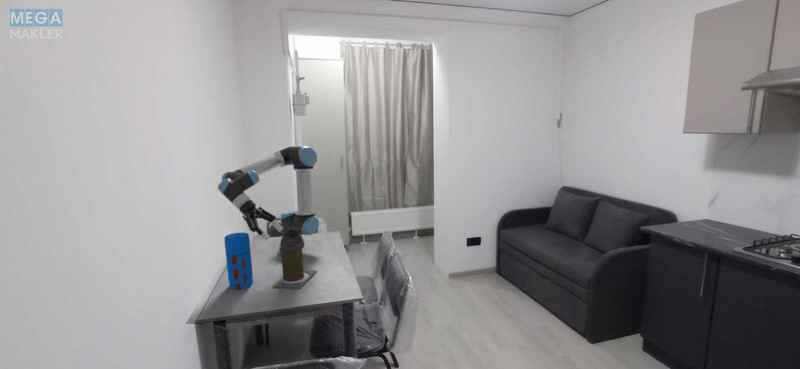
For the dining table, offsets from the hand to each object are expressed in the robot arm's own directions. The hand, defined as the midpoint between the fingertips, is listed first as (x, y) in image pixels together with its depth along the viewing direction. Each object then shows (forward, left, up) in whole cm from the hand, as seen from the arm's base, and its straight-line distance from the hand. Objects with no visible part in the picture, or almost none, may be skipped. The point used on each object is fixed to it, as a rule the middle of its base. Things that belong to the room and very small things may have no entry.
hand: (274, 234), depth 175 cm
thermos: (+9, -15, -24) cm, 29 cm away
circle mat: (0, +9, -23) cm, 25 cm away
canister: (0, +8, -23) cm, 24 cm away
